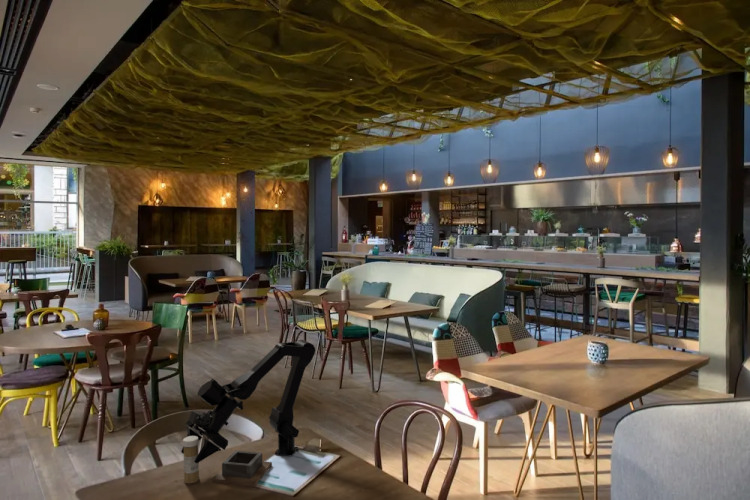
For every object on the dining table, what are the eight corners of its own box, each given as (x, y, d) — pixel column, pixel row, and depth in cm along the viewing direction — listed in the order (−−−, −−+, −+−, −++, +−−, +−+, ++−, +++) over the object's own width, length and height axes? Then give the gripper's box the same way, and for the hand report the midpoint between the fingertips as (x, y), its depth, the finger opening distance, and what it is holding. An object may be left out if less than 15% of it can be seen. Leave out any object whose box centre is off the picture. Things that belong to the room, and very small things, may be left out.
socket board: (232, 462, 174) (232, 446, 174) (271, 465, 172) (271, 450, 171) (211, 482, 161) (211, 466, 160) (254, 486, 158) (254, 470, 158)
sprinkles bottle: (197, 475, 165) (196, 434, 164) (200, 481, 161) (199, 439, 160) (182, 479, 163) (181, 437, 162) (185, 485, 159) (184, 442, 158)
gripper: (191, 393, 171) (157, 435, 164) (218, 408, 157) (183, 454, 150) (213, 411, 177) (182, 452, 169) (242, 426, 163) (209, 472, 156)
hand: (188, 457), depth 161 cm, fingers open, 9 cm apart
